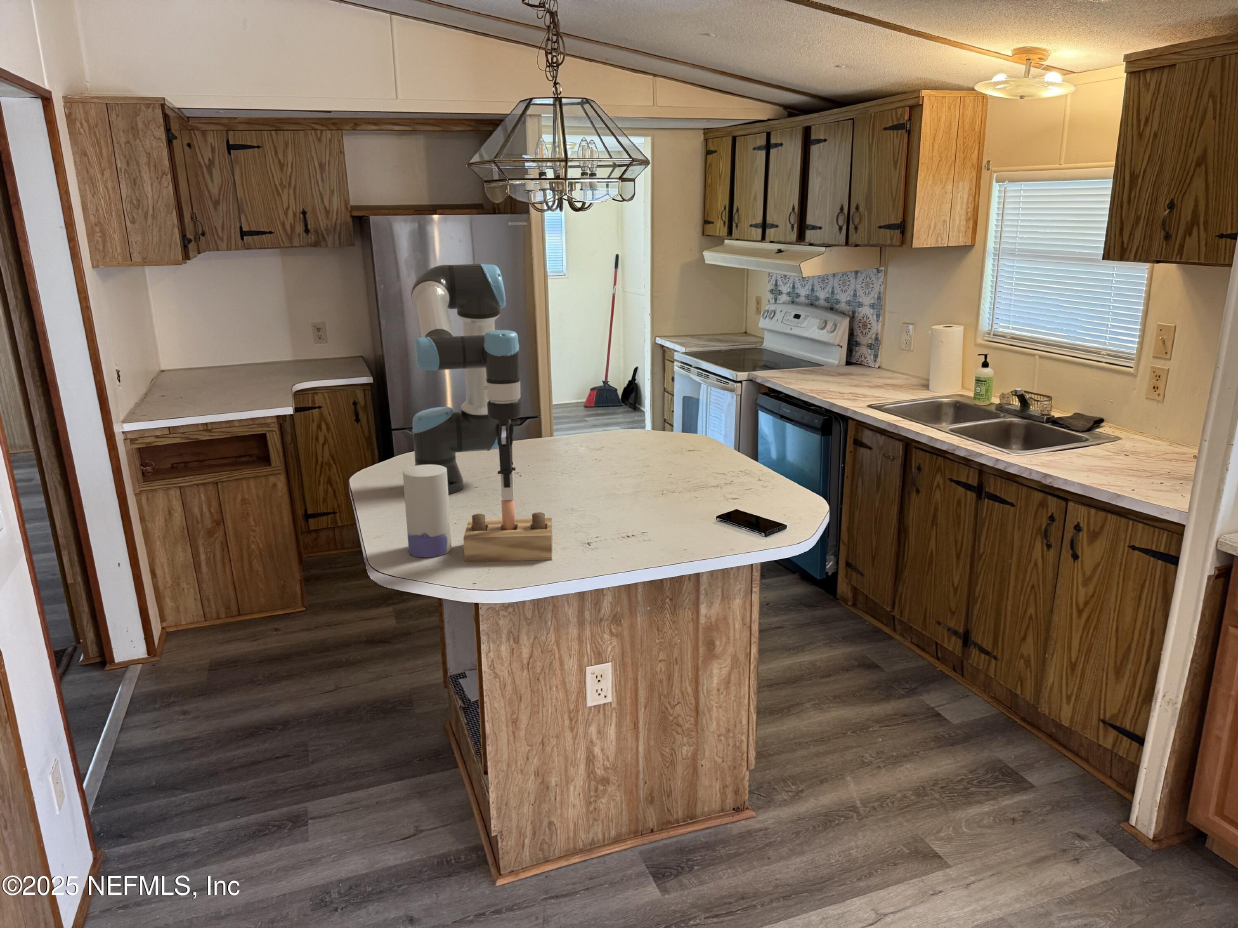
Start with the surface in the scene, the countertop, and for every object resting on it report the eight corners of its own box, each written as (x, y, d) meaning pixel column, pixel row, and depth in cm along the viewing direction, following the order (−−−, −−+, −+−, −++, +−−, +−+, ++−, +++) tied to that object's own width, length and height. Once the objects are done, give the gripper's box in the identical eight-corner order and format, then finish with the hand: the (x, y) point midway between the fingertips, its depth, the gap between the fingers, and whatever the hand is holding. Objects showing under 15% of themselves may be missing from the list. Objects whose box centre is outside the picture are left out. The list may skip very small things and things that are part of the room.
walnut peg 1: (474, 545, 205) (472, 513, 203) (486, 545, 205) (485, 513, 203) (473, 550, 202) (471, 518, 200) (485, 549, 203) (484, 517, 200)
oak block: (470, 542, 210) (468, 519, 208) (552, 540, 211) (551, 517, 209) (464, 561, 198) (463, 537, 197) (551, 559, 200) (551, 535, 198)
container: (454, 542, 210) (449, 463, 205) (448, 557, 201) (443, 475, 195) (413, 542, 210) (407, 464, 205) (404, 558, 200) (398, 476, 195)
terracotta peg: (503, 530, 205) (501, 498, 202) (515, 529, 205) (514, 497, 203) (502, 534, 202) (501, 502, 200) (515, 534, 202) (514, 502, 200)
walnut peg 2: (533, 544, 206) (532, 512, 204) (545, 543, 206) (544, 512, 204) (532, 548, 203) (531, 516, 201) (545, 548, 203) (544, 516, 201)
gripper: (489, 394, 201) (493, 491, 207) (484, 406, 188) (489, 508, 194) (521, 394, 201) (525, 490, 207) (519, 405, 188) (522, 507, 195)
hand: (507, 499), depth 201 cm, fingers closed
